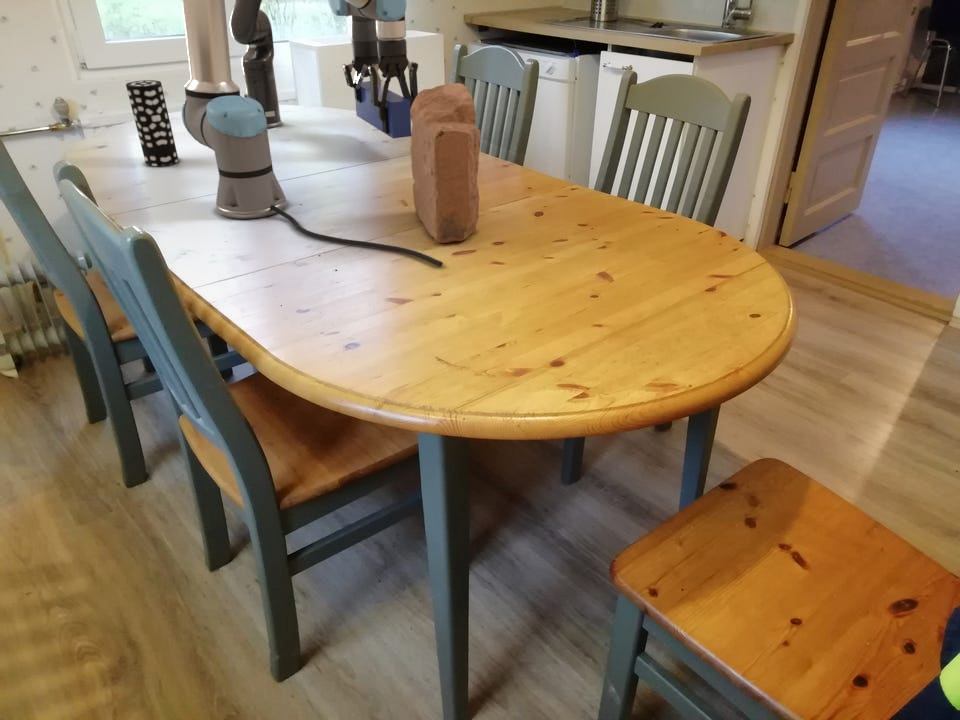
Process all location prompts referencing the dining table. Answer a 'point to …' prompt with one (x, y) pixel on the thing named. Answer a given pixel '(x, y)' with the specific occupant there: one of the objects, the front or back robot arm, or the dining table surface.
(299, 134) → the dining table surface
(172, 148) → the black white spotted cylinder
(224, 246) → the dining table surface
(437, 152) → the stone
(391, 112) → the bar
